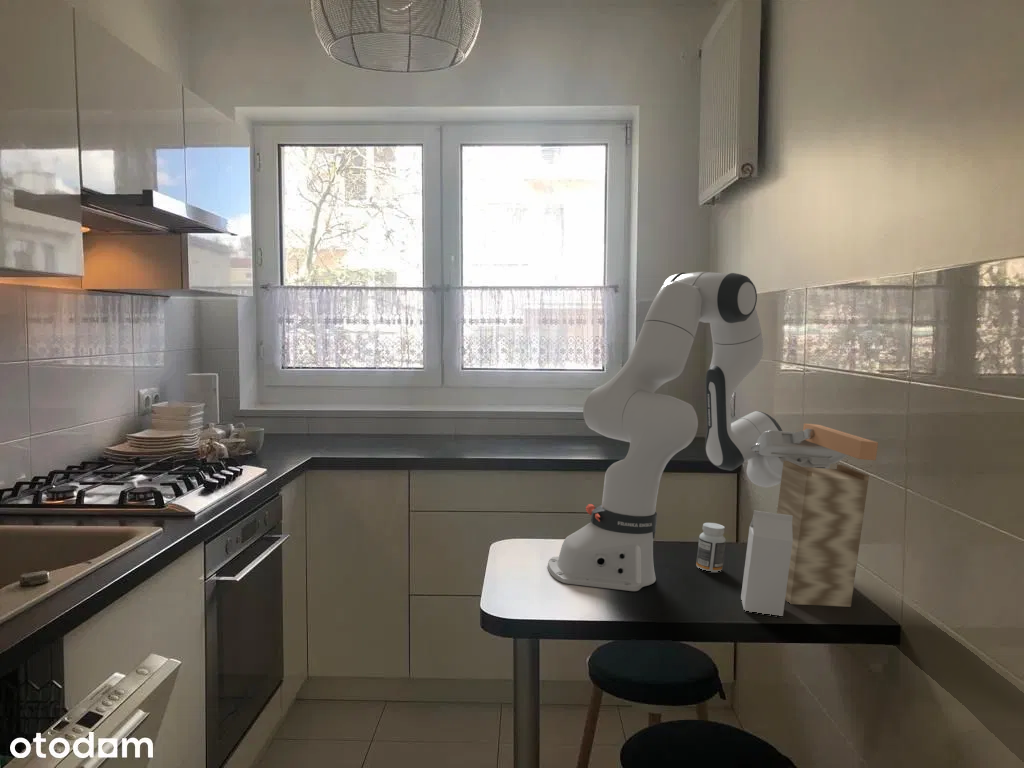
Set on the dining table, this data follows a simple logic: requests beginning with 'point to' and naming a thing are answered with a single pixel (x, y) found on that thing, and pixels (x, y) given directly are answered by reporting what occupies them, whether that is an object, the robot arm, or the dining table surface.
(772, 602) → the milk carton
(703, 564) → the pill bottle
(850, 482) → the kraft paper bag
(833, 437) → the bar
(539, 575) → the dining table surface
